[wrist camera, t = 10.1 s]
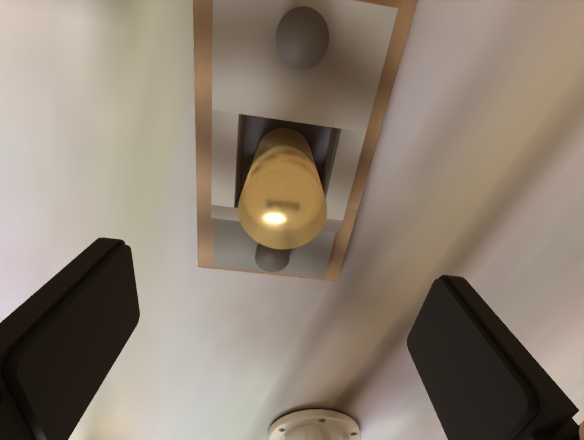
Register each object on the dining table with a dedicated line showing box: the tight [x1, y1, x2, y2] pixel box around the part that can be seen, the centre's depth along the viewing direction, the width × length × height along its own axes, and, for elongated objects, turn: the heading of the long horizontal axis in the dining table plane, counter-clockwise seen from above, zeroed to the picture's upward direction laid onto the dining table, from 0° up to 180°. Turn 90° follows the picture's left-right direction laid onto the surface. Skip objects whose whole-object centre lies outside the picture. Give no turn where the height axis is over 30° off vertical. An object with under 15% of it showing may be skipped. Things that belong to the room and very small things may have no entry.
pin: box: [238, 128, 327, 249], centre depth 17 cm, size 4×4×9 cm
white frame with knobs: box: [193, 0, 417, 281], centre depth 19 cm, size 20×12×4 cm, turn 172°
